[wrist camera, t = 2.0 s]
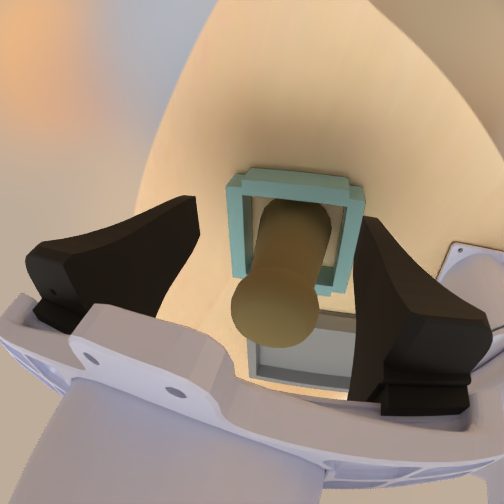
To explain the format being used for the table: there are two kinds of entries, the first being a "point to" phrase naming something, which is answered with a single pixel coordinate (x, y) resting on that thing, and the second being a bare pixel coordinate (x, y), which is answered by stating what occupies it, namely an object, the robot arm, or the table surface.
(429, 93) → the table surface
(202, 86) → the table surface
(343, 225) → the teal collar
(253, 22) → the table surface
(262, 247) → the cork
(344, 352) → the charcoal tray
